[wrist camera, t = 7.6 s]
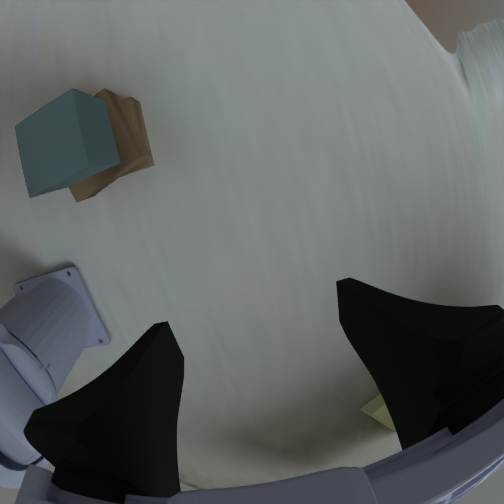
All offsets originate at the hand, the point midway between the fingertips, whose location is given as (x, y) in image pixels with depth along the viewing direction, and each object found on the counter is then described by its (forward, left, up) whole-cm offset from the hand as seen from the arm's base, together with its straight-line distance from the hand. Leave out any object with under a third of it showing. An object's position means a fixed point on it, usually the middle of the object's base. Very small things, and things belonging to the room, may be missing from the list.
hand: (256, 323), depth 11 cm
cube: (-8, +10, -6) cm, 14 cm away
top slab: (-7, +10, -8) cm, 15 cm away
